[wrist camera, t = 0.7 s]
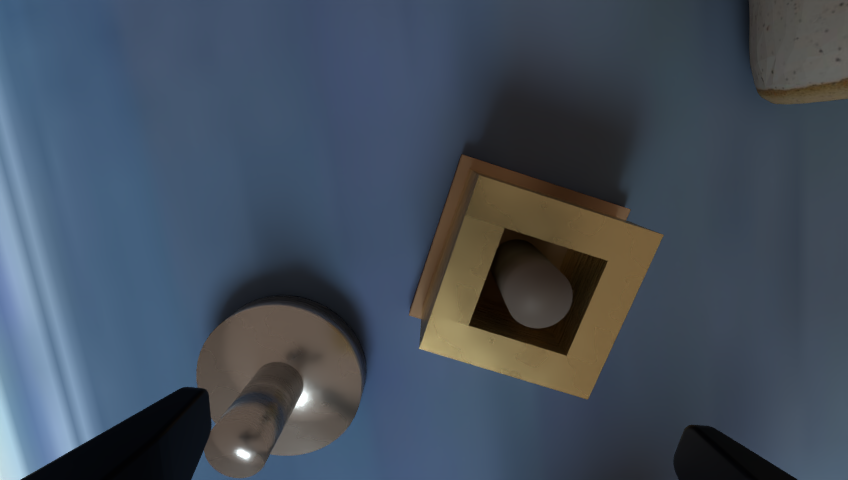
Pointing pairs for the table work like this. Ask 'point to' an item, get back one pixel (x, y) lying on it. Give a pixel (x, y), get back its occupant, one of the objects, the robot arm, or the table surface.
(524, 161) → the table surface
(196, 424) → the robot arm
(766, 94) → the ceramic mug
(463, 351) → the brass square frame
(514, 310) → the walnut stand
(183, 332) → the table surface
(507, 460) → the table surface
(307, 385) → the cylinder
